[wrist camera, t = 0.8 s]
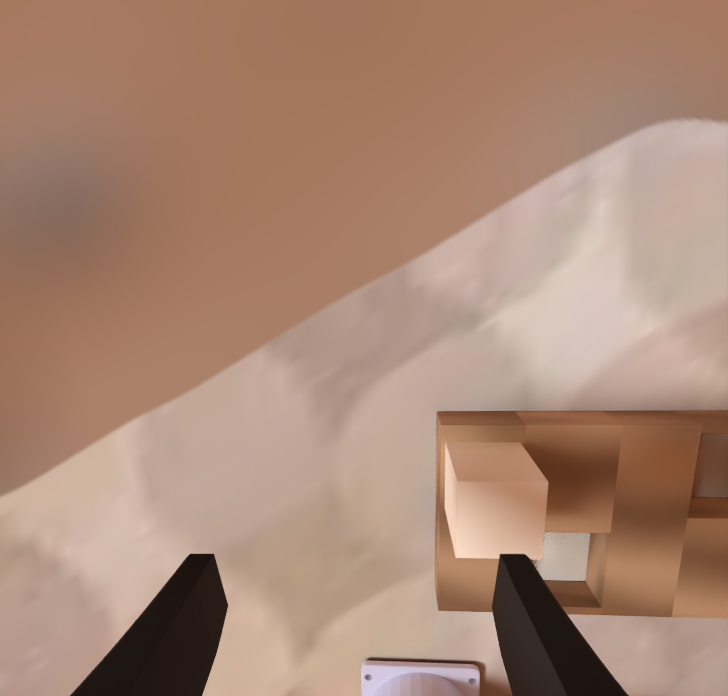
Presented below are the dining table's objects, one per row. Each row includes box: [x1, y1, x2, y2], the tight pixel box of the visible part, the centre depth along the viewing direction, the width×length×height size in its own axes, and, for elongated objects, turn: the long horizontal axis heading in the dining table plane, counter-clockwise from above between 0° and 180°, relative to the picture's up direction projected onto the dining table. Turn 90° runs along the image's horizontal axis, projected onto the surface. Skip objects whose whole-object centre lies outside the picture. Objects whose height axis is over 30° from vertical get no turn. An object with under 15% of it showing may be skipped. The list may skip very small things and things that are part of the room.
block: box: [444, 442, 548, 560], centre depth 21 cm, size 4×4×4 cm
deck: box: [435, 411, 728, 618], centre depth 22 cm, size 12×24×4 cm, turn 92°
